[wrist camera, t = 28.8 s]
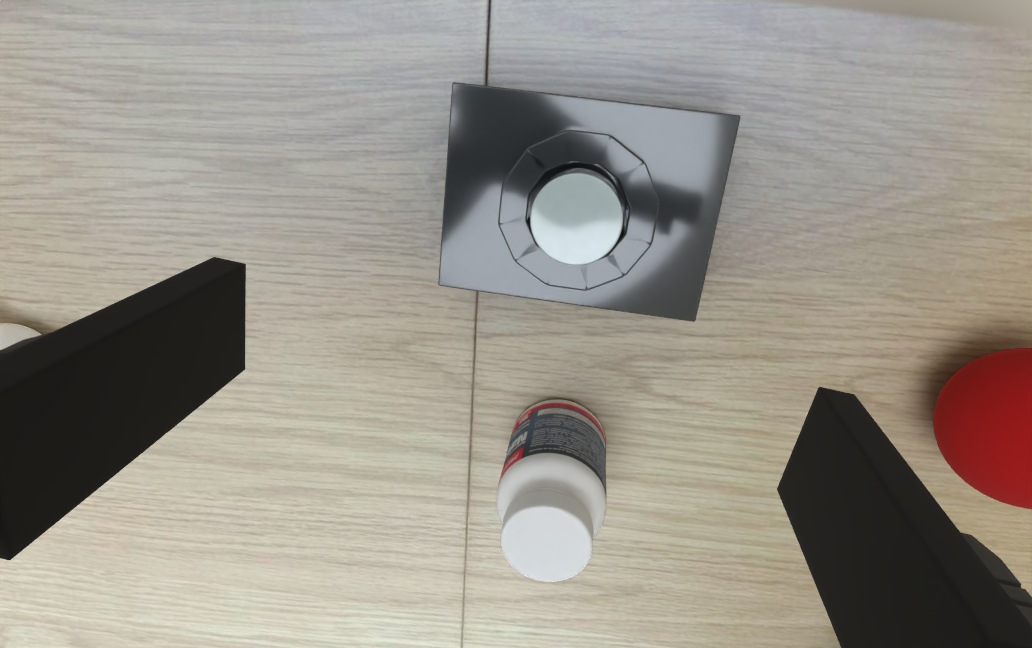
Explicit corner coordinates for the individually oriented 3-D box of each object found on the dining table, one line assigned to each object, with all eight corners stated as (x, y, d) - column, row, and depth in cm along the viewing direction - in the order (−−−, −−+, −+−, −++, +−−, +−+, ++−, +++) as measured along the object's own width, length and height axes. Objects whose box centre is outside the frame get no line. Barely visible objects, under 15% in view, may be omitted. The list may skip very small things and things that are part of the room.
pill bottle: (519, 388, 34) (494, 480, 26) (614, 406, 34) (619, 505, 26) (505, 470, 36) (478, 580, 28) (595, 488, 36) (594, 604, 28)
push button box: (452, 268, 33) (428, 296, 28) (466, 83, 30) (442, 80, 25) (686, 301, 32) (701, 336, 27) (726, 114, 29) (751, 116, 24)
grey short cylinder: (530, 248, 27) (524, 259, 25) (540, 162, 26) (535, 167, 24) (613, 259, 27) (614, 271, 25) (628, 173, 26) (630, 179, 24)
